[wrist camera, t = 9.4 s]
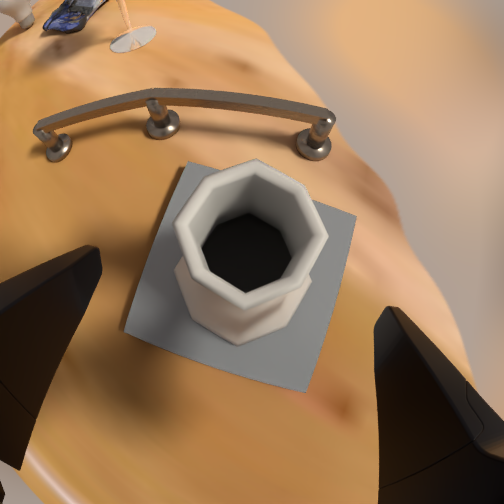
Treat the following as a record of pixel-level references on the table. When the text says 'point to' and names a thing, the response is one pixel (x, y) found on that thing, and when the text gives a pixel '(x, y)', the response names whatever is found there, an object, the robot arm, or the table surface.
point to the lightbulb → (18, 11)
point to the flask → (247, 250)
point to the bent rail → (167, 121)
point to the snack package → (72, 15)
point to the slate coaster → (213, 346)
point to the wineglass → (131, 34)
